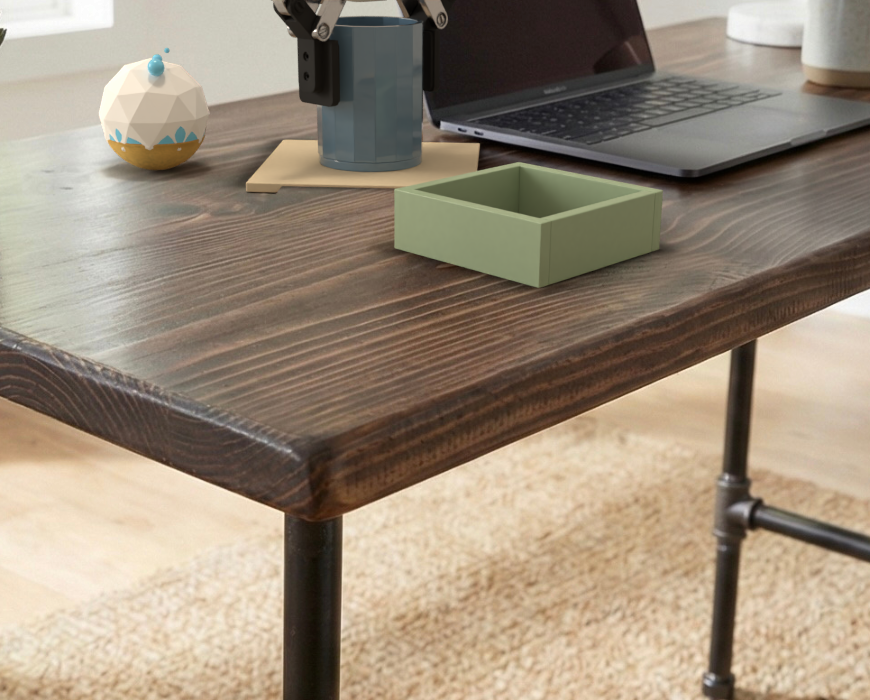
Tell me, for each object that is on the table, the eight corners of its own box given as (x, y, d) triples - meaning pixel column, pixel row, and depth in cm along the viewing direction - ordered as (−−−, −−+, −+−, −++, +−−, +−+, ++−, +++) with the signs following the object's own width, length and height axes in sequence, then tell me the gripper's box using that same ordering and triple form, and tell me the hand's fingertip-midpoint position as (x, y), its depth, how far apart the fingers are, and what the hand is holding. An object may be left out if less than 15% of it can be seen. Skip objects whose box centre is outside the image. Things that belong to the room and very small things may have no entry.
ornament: (84, 167, 86) (73, 44, 83) (180, 154, 90) (173, 36, 87) (133, 185, 81) (123, 55, 78) (232, 170, 85) (226, 46, 82)
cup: (425, 152, 89) (426, 16, 85) (418, 173, 82) (419, 27, 79) (326, 150, 89) (323, 15, 86) (311, 171, 82) (308, 25, 79)
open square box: (516, 223, 73) (518, 161, 72) (658, 257, 67) (663, 190, 65) (394, 256, 66) (393, 188, 65) (538, 296, 60) (541, 223, 59)
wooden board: (479, 151, 92) (480, 143, 92) (474, 196, 79) (474, 187, 79) (283, 147, 93) (283, 139, 92) (246, 192, 79) (245, 182, 79)
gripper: (297, -205, 70) (306, 120, 76) (510, -192, 82) (503, 88, 87) (213, -201, 75) (227, 104, 81) (425, -189, 86) (424, 77, 92)
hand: (371, 95), depth 84 cm, fingers open, 8 cm apart
